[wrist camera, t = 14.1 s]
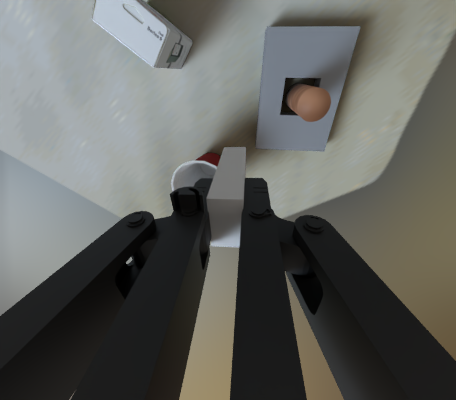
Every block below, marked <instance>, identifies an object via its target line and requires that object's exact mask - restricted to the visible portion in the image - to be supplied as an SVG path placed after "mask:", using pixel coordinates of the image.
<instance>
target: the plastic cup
mask: <svg viewBox="0 0 456 400" xmlns="http://www.w3.org/2000/svg"><path fill="white" fill-rule="evenodd" d="M220 158H221V157H220V156H219V155H217V154H215V153H207V154H204V155H203V156H201V157H199V158H198V159H196V160H191V161H189V162H186V163H183V164H181V165H180V166H179V167H178V168H177V169H176V170H175V172H174V173H173V177H172V181H171V185H172V191H174V190H176V189H178V188H182V187H189V186H191V187H193V186H194V184H195V182H197V181H198V180H199V179H201V178H214V175H215V172H216V169H217V166H218V163H219V161H220Z"/></svg>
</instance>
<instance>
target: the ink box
mask: <svg viewBox="0 0 456 400" xmlns="http://www.w3.org/2000/svg"><path fill="white" fill-rule="evenodd" d="M91 19H92V20H93V21H94V22H95V23H97V24H98V25H99V26H100V27H102V28H103V29H104V30H105V31H107V32H108V33H109V34H111V35H112V36H113V37H114V38H116V39H117V40H118V41H120V42H121V43H122V44H124V45H125V46H126V47H127V48H129V49H130V50H131V51H132V52H134V53H135V54H136V55H138V56H139V57H140V58H141V59H143V60H144V61H145V62H147V63H148V64H149V65H151V66H152V67H154V68H171V69H181V67H182V65H183V63H184V61H185V59H186V57H187V55H188V52H189V50H190V48H191V46H192V40H191V39H190V38H189V37H188V36H186V35H185V34H184V33H183V32H181V31H180V30H179V29H178V28H177V27H175V26H174V25H173V24H172V23H171V22H169V21H168V20H167V19H166V18H165V17H163V16H162V15H161V14H160V13H158V12H157V11H156V10H155V9H154V8H152V7H151V6H150V5H149V4H147V3H146V2H144V1H143V0H94V4H93V10H92V17H91Z"/></svg>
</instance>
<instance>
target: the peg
mask: <svg viewBox="0 0 456 400" xmlns="http://www.w3.org/2000/svg"><path fill="white" fill-rule="evenodd" d="M285 101H286V104H287V105H288V107H289V108H290V109H291V110H293V111H294V112H295V113H296V114H298V115H299V116H300V117H301V118H302V119H303V120H305V121H308V122H315V121H318V120H320V119H321V118H323V117H324V116H325V115H326V114H327V112H328V111H329V108H330V105H331V97H330V95H329V93H328V92H327V91H326V90H325V89H323V88H318V87H314V86H309V85H306V84H295V85H293V86H291V87H290V88H289V89H288V91H287V93H286V96H285Z"/></svg>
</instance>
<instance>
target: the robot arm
mask: <svg viewBox="0 0 456 400" xmlns="http://www.w3.org/2000/svg"><path fill="white" fill-rule="evenodd" d="M245 174H246V147H224V149H223V152H222V155H221V158H220V161H219V163H218V166H217V169H216V172H215V175H214V178H201V179H199V180H198V181H197V182H195V184H194V186H193V187H191V186H189V187H182V188H178V189H176V190H174V191H173V192H172V193H171V194H170V197H171V201H172V206H173V210H174V211H173V213H172V215H171V216H169V217H165V218H159V219H154V217H153V215H152V214H151V213H149V212H147V211H140V212H134V213H132V214H129V215H127V216H126V217H124V218H123V219H121V220H120V221H119V222H118V223H116V224H115V225H114V226H113V227H111V228H110V229H109V230H108V231H106V232H105V233H104V234H103V235H101V236H100V237H99V238H98V239H96V240H95V241H94V242H93V243H91V244H90V245H89V246H88V247H86V248H85V249H84V250H82V251H81V252H80V253H79V254H77V255H76V256H75V257H74V258H73V259H71V260H70V261H69V262H68V263H66V264H65V265H64V266H63V267H61V268H60V269H59V270H57V271H56V272H55V273H54V274H52V275H51V276H50V277H49V278H48V279H46V280H45V281H44V282H42V283H41V284H40V285H39V286H37V287H36V288H35V289H34V290H32V291H31V292H30V293H29V294H27V295H26V296H25V297H24V298H22V299H21V300H20V301H19V302H17V303H16V304H15V305H14V306H12V307H11V308H10V309H9V310H7V311H6V312H5V313H4V314H2V315H1V316H0V400H69V399H70V397H71V396H72V394H73V393H74V392H75V393H74V395H73V396H72V399H71V400H179V397H180V392H181V387H182V383H183V379H184V374H185V369H186V365H187V360H188V355H189V350H190V346H191V341H192V337H193V332H194V327H195V323H196V317H197V313H198V308H199V303H200V299H201V295H202V290H203V285H204V281H205V276H206V271H207V267H208V262H209V257H210V248H209V245H210V241H211V244H212V246H223V247H239V262H238V278H237V294H236V311H235V327H234V343H233V358H232V359H233V360H232V374H231V375H232V376H231V391H230V400H307V398H306V393H305V386H304V381H303V375H302V369H301V363H300V358H299V352H298V346H297V341H296V334H295V329H294V323H293V317H292V311H291V306H290V300H289V294H288V288H287V282H286V277H285V271H286V274H287V276H288V279H289V281H290V283H291V285H292V287H293V290H294V292H295V294H296V296H297V298H298V300H299V303H300V305H301V307H302V309H303V311H304V313H305V316H306V318H307V320H308V322H309V324H310V326H311V329H312V331H313V333H314V335H315V337H316V339H317V341H318V344H319V346H320V348H321V350H322V352H323V355H324V357H325V359H326V361H327V363H328V365H329V368H330V370H331V372H332V374H333V376H334V378H335V381H336V383H337V385H338V387H339V389H340V391H341V394H342V396H343V398H344V400H456V361H455V360H454V359H453V358H452V357H451V355H450V354H449V353H448V352H447V351H446V350H445V349H444V348H443V347H442V346H441V345H440V343H438V341H437V340H436V339H435V338H434V337H433V336H432V335H431V334H430V333H429V331H428V330H426V328H425V327H424V326H423V325H422V324H421V323H420V321H419V320H418V319H417V318H416V317H415V316H414V315H413V314H412V313H411V312H410V311H409V309H408V308H407V307H406V306H405V305H404V304H403V303H402V302H401V301H400V300H399V299H398V297H397V296H396V295H395V294H394V293H393V292H392V291H391V290H390V289H389V288H388V287H387V285H386V284H385V283H384V282H383V281H382V280H381V279H380V278H379V277H378V275H377V274H376V273H375V272H374V271H373V270H372V269H371V268H370V267H369V266H368V265H367V263H366V262H365V261H364V260H363V259H362V258H361V257H360V256H359V255H358V254H357V253H356V251H355V250H354V249H353V248H352V247H351V246H350V245H349V244H348V243H347V242H346V241H345V239H344V238H343V237H342V236H341V235H340V234H339V233H338V232H337V231H336V229H335V228H334V227H333V226H332V225H331V224H330V223H329V222H327V221H326V220H324V219H322V218H320V217H317V216H313V215H304V216H300V217H299V218H297V219H296V220H295V222H291V221H287V220H284V219H281V218H279V217H277V216H276V215H275V213H274V211H273V210H272V209H271V206H270V199H269V193H268V187H267V182H266V181H265V180H264V179H263V178H245ZM130 257H132V259H133V260H132V261H131V262H130V263H129V264H126V261H127V260H128V259H129V258H130ZM75 390H76V391H75Z"/></svg>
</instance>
